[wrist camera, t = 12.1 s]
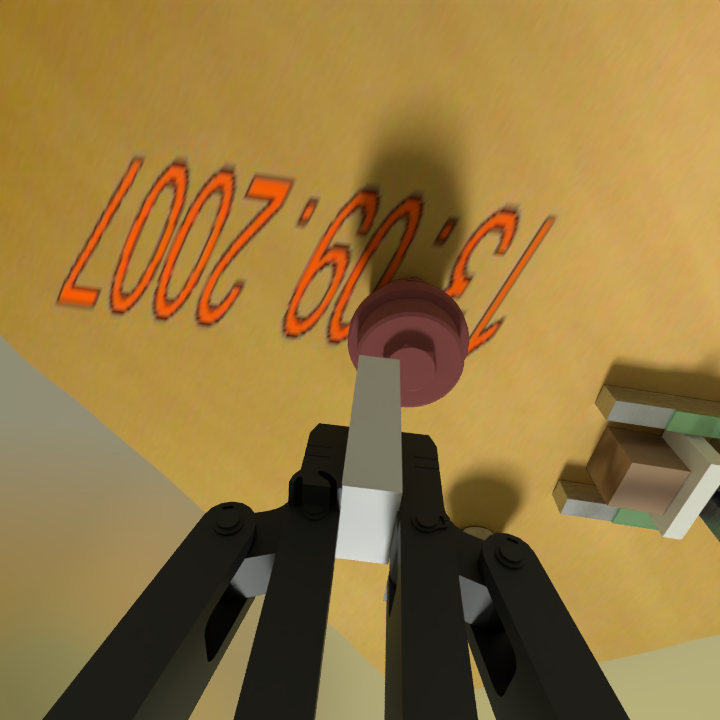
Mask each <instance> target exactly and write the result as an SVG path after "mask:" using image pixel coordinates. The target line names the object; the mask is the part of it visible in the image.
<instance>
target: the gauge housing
mask: <svg viewBox="0 0 720 720" xmlns="http://www.w3.org/2000/svg"><path fill="white" fill-rule="evenodd" d="M595 405H596V406H597V407H598V409H599V410H600V412H601V413H602V414H603V416H604V417H605V419H606V420H608V421H615V422H622V423H628V424H635V425H642V426H648V427H655V428H662V429H665V430H666V431H671V432H678V433H685V434H691V435H698V436H705V437H711V438H712V440H711V441H710V443H709V444H710V445H711V446H712V447H713V448H714V449H715V450H716V451H717V452H718V453H719V454H720V402H714V401H708V400H701V399H694V398H688V397H681V396H675V395H668V394H661V393H655V392H648V391H642V390H635V389H628V388H622V387H615V386H608V385H603V387H602V389H601V392H600V394H599V396H598V398H597V400H596V402H595ZM552 496H553V498H554V500H555V503H556V505H557V507H558V510H559V512H560V514H565V515H572V516H579V517H585V518H592V519H599V520H606V521H611V522H612V523H614V524H620V525H627V526H634V527H641V528H648V529H655V530H658V529H657V527H656V526H655V524H654V523H653V521H652V519H651V518H650V516H649V515H648V513H647V512H642V511H636V510H629V509H623V508H617V507H610V506H607V504H606V503H605V501H604V499H603V497H602V495H601V494H600V492H599V490H598V488H597V487H596V485H590V484H583V483H576V482H569V481H562V480H559V481H558V483H557V485H556V488H555V490H554V492H553V494H552ZM699 516H700V517H701V518H702V520H703V521H704V522H705V524H706V525H707V526H708V527H709V529H710V530H711V531H712V533H713V534H714V535H715V537H716V538H717V539H718V540H719V542H720V492H719V491H715V492H714V494H713V495H712V497H711V498H710V499H709V501H708V502H707V504H706V505H705V507H704V508H703V509H702V511H701V512H700V514H699Z"/></svg>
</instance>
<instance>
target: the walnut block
mask: <svg viewBox="0 0 720 720" xmlns="http://www.w3.org/2000/svg"><path fill="white" fill-rule="evenodd" d="M586 469H587V470H588V472H589V474H590V476H591V478H592V479H593V481H594V483H595V485H596V487H597V488H598V490H599V492H600V494H601V495H602V497H603V499H604V501H605V503H606V504H607V506H610V507H617V508H623V509H629V510H636V511H642V512H648V513H655V514H661V515H663V514H664V512H665V511H666V509H667V508H668V506H669V505H670V503H671V502H672V500H673V499H674V497H675V496H676V494H677V493H678V491H679V490H680V488H681V487H682V485H683V484H684V482H685V481H686V480H687V478H688V477H689V475H690V474H691V471H690V470H689V469H688V467H687V466H686V465H685V464H684V463H683V461H682V460H681V459H680V458H679V457H678V455H677V454H676V453H675V452H674V451H673V450H672V448H671V447H670V446H669V445H668V444H667V442H666V441H665V440H664V439H663V438H662V437H661V435H657V434H651V433H645V432H639V431H633V430H626V429H620V428H614V427H608V426H607V428H606V430H605V432H604V434H603V435H602V437H601V439H600V441H599V443H598V445H597V447H596V449H595V451H594V453H593V455H592V457H591V459H590V461H589V463H588V465H587V466H586Z"/></svg>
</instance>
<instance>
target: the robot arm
mask: <svg viewBox="0 0 720 720" xmlns="http://www.w3.org/2000/svg"><path fill="white" fill-rule="evenodd" d="M389 557H390V571H389V576H388V581H387V585H386V590H385V595H384V600H383V601H387V607H386V664H385V720H478V716H477V709H476V701H475V694H474V686H473V679H472V671H471V664H470V656H469V649H468V643H469V646H470V649H471V651H472V654H473V657H474V660H475V662H476V665H477V668H478V671H479V674H480V676H481V679H482V682H483V685H484V687H485V690H486V693H487V696H488V699H489V701H490V704H491V707H492V710H493V712H494V715H495V718H496V720H630V719H629V718H628V715H627V714H626V712H625V711H624V708H623V707H622V705H621V703H620V701H619V700H618V698H617V696H616V694H615V693H614V691H613V689H612V688H611V686H610V684H609V682H608V681H607V679H606V677H605V675H604V673H603V672H602V670H601V668H600V666H599V665H598V663H597V661H596V659H595V658H594V656H593V654H592V652H591V651H590V649H589V647H588V645H587V644H586V642H585V640H584V638H583V637H582V635H581V633H580V631H579V630H578V628H577V626H576V624H575V623H574V621H573V619H572V617H571V616H570V614H569V612H568V610H567V609H566V607H565V605H564V603H563V602H562V600H561V598H560V596H559V594H558V593H557V591H556V589H555V587H554V586H553V584H552V582H551V580H550V579H549V577H548V575H547V573H546V572H545V570H544V568H543V566H542V565H541V563H540V561H539V559H538V558H537V556H536V554H535V553H534V551H533V550H532V549H531V548H530V546H529V545H528V544H527V543H525V542H524V541H522V540H521V539H520V538H518V537H515V536H513V535H510V534H506V533H496V534H492V535H490V536H489V537H487V538H486V539H485V540H482V539H480V538H478V537H475V536H473V535H470V534H468V533H466V532H464V531H462V530H460V529H459V528H458V527H456V526H455V525H454V524H453V523H452V522H451V521H450V518H449V517H448V515H447V514H446V512H445V509H444V503H443V495H442V486H441V478H440V471H439V462H438V454H437V447H436V445H435V444H434V442H433V441H432V439H431V438H430V436H429V435H422V434H414V433H405V432H401V399H400V360H398V359H389V358H381V357H372V356H364V355H359V361H358V368H357V375H356V383H355V390H354V398H353V405H352V412H351V420H350V427H346V426H338V425H330V424H321V423H319V424H318V425H317V426H316V427H315V428H314V429H313V430H312V431H311V432H310V435H309V439H308V443H307V447H306V451H305V456H304V459H303V463H302V467H301V470H299V471H298V472H297V473H295V474H294V475H293V476H292V478H291V480H290V481H289V499H288V502H287V503H286V504H285V505H283V506H281V507H279V508H277V509H274V510H270V511H265V512H258V513H254V512H253V511H252V509H251V508H250V507H248V506H247V505H245V504H243V503H238V502H227V503H221V504H219V505H217V506H215V507H212V508H211V509H210V510H209V511H208V512H207V513H205V514H204V516H203V517H202V518H201V519H200V521H199V522H198V523H197V524H196V526H195V527H194V528H193V530H192V531H191V532H190V533H189V535H188V536H187V537H186V538H185V540H184V541H183V542H182V543H181V545H180V546H179V547H178V548H177V550H176V551H175V552H174V554H173V555H172V556H171V557H170V559H169V560H168V561H167V563H166V564H165V565H164V566H163V568H162V569H161V570H160V571H159V573H158V574H157V575H156V576H155V578H154V579H153V580H152V581H151V583H150V584H149V585H148V586H147V588H146V589H145V590H144V591H143V593H142V594H141V595H140V597H139V598H138V599H137V600H136V602H135V603H134V604H133V605H132V607H131V608H130V609H129V611H128V612H127V613H126V614H125V616H124V617H123V618H122V619H121V621H120V622H119V623H118V625H117V626H116V627H115V628H114V630H113V631H112V632H111V633H110V635H109V636H108V637H107V638H106V640H105V641H104V642H103V643H102V645H101V646H100V647H99V648H98V650H97V651H96V652H95V654H94V655H93V656H92V657H91V659H90V660H89V661H88V663H87V664H86V665H85V666H84V667H83V669H82V670H81V671H80V673H79V674H78V675H77V676H76V678H75V679H74V680H73V682H72V683H71V684H70V685H69V687H68V688H67V689H66V690H65V692H64V693H63V694H62V696H61V697H60V698H59V699H58V700H57V702H56V703H55V704H54V705H53V707H52V708H51V709H50V711H49V712H48V713H47V714H46V716H45V717H44V718H43V720H188V719H189V717H190V715H191V714H192V712H193V710H194V708H195V706H196V704H197V703H198V701H199V699H200V697H201V695H202V694H203V692H204V689H205V688H206V686H207V685H208V682H209V681H210V679H211V677H212V675H213V673H214V672H215V670H216V668H217V666H218V664H219V663H220V661H221V659H222V657H223V655H224V653H225V652H226V650H227V648H228V646H229V644H230V642H231V641H232V639H233V637H234V635H235V633H236V632H237V630H238V628H239V626H240V624H241V622H242V620H243V619H244V617H245V615H246V613H247V612H248V610H249V608H250V606H251V604H252V603H253V601H254V599H255V596H257V595H263V594H266V595H265V599H264V603H263V607H262V611H261V615H260V619H259V622H258V626H257V630H256V634H255V638H254V642H253V646H252V650H251V654H250V658H249V662H248V665H247V669H246V673H245V677H244V681H243V685H242V689H241V693H240V697H239V701H238V705H237V708H236V712H235V716H234V720H315V715H316V708H317V700H318V692H319V684H320V676H321V668H322V660H323V652H324V644H325V636H326V628H327V620H328V612H329V604H330V596H331V588H332V580H333V571H334V562H335V558H341V559H349V560H357V561H365V562H374V563H382V564H388V562H389ZM467 640H468V641H467Z"/></svg>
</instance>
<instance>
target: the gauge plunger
mask: <svg viewBox="0 0 720 720" xmlns="http://www.w3.org/2000/svg"><path fill="white" fill-rule="evenodd" d="M661 437H662V438H663V439H664V440H665V441H666V442H667V444H668V445H669V446H670V447H671V448H672V450H673V451H674V452H675V453H676V454H677V455H678V457H679V458H680V459H681V460H682V461H683V463H684V464H685V465H686V466H687V467H688V469H689V470H690V471H691V474H690V475H689V477H688V478H687V480H686V481H685V482H684V484H683V485H682V487H681V488H680V490H679V491H678V493H677V494H676V496H675V497H674V499H673V500H672V502H671V503H670V505H669V506H668V508H667V509H666V511H665V512H664V514H663V515H661V514H655V513H648V512H647V513H648V515H649V516H650V518H651V519H652V521H653V523H654V524H655V526H656V527H657V529H658V530H659V532H660V533H661V535H662V536H663V537H668V538H674V539H682V538H683V537H684V535H685V534H686V532H687V531H688V529H689V528H690V527H691V525H692V524H693V522H694V521H695V519H696V518H697V517H698V515H699V514H700V512H701V511H702V509H703V508H704V507H705V505H706V504H707V502H708V501H709V499H710V498H711V497H712V495H713V494H714V492H715V491H719V492H720V454H719V453H718V452H717V451H716V450H715V449H714V448H713V447H712V446H711V445H710V444H709V443H708V442H707V441H706V440H705V439H704V438H703V437H702V436H698V435H691V434H685V433H678V432H671V431H666V430H665V431H664V433H663V435H662V436H661Z"/></svg>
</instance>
